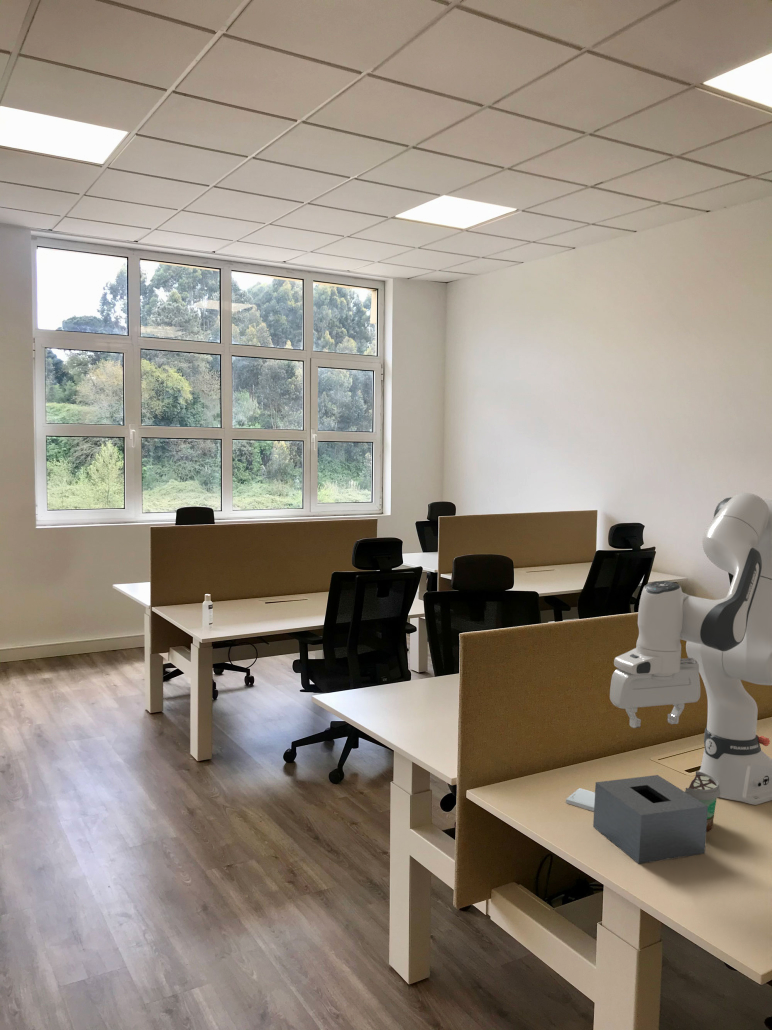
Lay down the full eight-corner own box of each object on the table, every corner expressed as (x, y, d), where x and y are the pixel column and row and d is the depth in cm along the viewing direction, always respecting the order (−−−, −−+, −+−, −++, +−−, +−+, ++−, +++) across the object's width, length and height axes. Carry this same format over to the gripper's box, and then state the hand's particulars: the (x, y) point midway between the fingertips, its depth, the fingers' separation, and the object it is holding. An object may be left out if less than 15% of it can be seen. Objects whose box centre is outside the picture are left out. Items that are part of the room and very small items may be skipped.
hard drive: (565, 798, 183) (618, 813, 176) (579, 787, 190) (630, 801, 182) (565, 805, 183) (617, 821, 176) (579, 793, 190) (630, 808, 182)
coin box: (654, 818, 177) (657, 775, 176) (704, 853, 162) (707, 806, 161) (593, 826, 172) (595, 782, 171) (638, 863, 156) (641, 815, 156)
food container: (712, 841, 167) (715, 795, 166) (682, 833, 170) (685, 788, 169) (722, 819, 177) (725, 776, 176) (693, 812, 180) (696, 769, 180)
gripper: (688, 653, 170) (685, 716, 171) (607, 658, 163) (603, 723, 165) (709, 661, 164) (705, 725, 165) (625, 667, 157) (622, 734, 159)
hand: (654, 725), depth 165 cm, fingers open, 8 cm apart
